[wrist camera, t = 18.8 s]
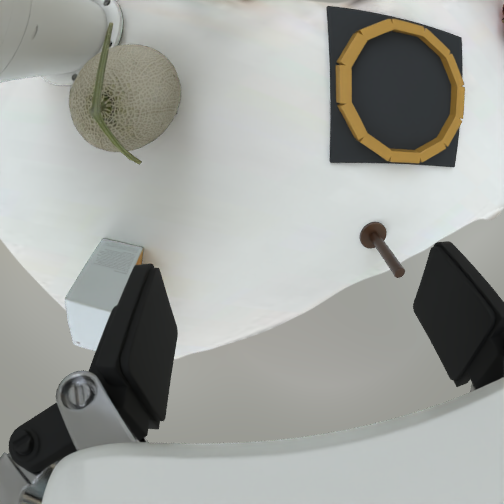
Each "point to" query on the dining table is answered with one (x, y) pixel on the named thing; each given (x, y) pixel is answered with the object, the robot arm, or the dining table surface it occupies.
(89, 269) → the small box
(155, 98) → the fruit
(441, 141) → the ring
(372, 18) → the mat
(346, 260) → the dining table surface
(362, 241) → the post
